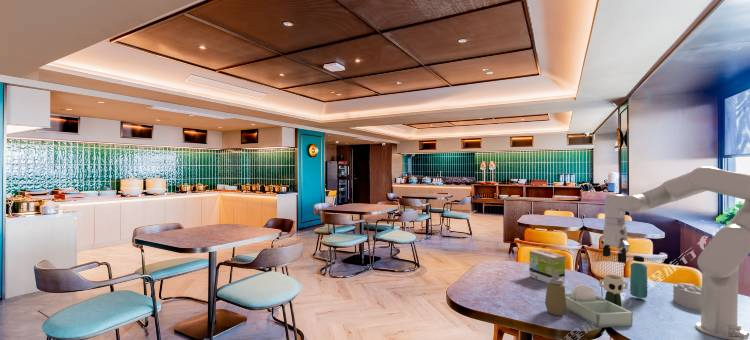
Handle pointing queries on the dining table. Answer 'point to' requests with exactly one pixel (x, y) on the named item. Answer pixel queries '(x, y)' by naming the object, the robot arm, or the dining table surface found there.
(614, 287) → the character mug
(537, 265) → the tea box
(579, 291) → the racked plates
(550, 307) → the squeeze bottle
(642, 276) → the beverage bottle
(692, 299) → the lumpy-topped squat cylinder
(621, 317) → the dish rack
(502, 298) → the dining table surface
